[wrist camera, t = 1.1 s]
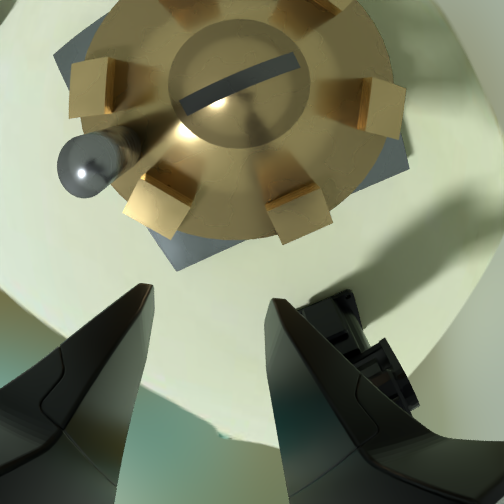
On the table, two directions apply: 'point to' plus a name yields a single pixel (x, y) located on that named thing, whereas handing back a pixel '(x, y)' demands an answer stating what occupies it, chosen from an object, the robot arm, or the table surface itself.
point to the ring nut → (231, 113)
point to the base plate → (198, 248)
